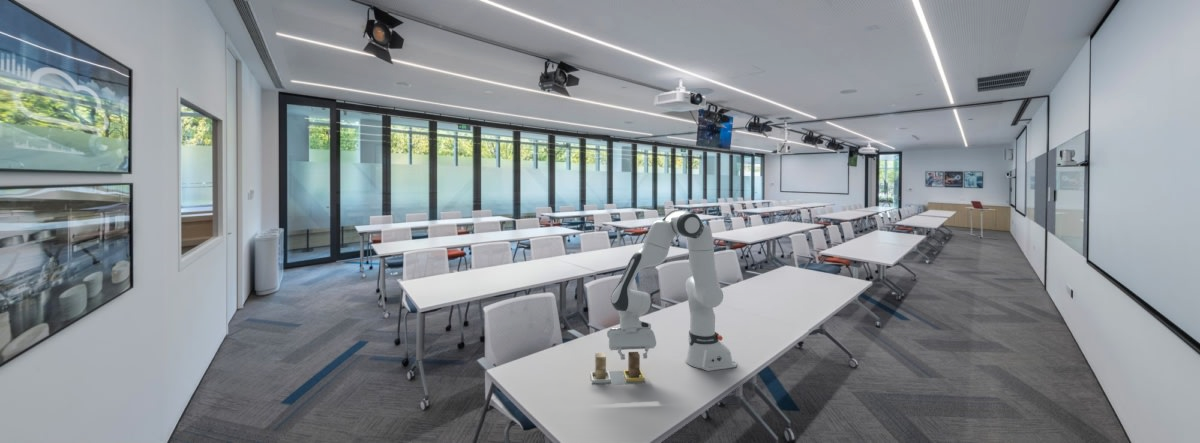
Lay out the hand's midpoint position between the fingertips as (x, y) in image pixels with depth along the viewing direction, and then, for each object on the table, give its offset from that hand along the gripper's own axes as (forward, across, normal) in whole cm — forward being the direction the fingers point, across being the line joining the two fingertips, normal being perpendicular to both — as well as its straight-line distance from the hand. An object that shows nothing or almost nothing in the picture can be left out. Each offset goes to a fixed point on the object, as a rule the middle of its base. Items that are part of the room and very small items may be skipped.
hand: (634, 358), depth 180 cm
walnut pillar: (+6, 0, +5) cm, 8 cm away
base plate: (+6, -7, +6) cm, 11 cm away
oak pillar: (+6, -14, +5) cm, 16 cm away
